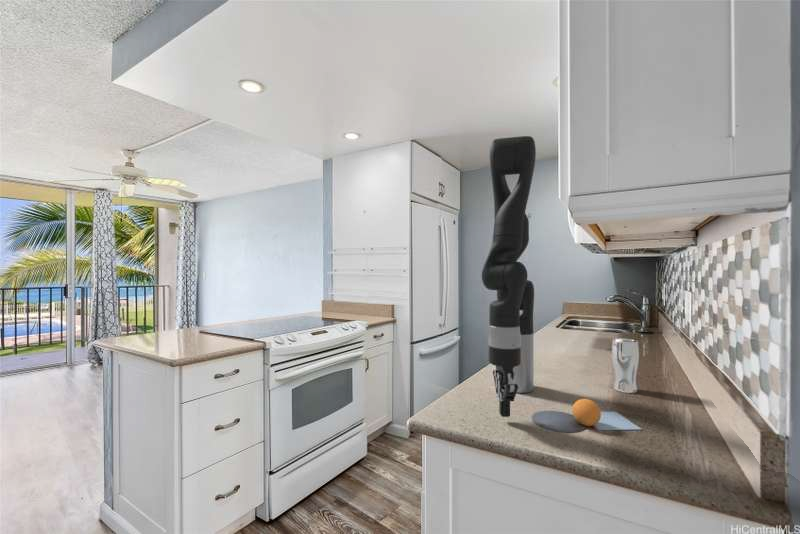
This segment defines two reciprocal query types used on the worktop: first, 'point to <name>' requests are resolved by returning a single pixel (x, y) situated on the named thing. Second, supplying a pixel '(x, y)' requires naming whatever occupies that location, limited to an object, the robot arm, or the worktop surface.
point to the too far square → (614, 422)
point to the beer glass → (625, 364)
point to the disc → (557, 421)
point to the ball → (586, 412)
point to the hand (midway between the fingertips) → (504, 415)
